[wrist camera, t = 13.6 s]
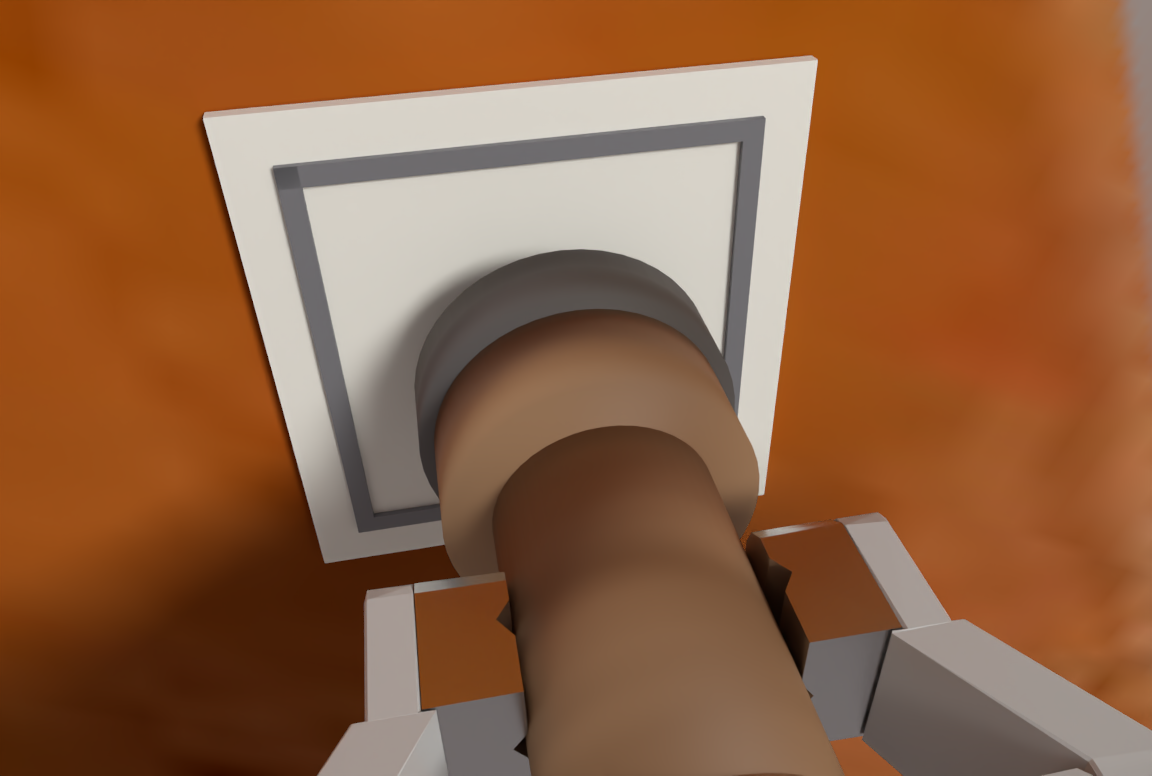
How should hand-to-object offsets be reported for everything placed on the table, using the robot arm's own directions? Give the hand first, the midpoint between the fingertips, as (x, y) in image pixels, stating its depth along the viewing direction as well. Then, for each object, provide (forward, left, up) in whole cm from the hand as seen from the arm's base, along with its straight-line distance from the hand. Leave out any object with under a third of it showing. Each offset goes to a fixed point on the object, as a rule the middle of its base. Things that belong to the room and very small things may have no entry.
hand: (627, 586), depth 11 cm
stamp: (0, 0, -4) cm, 4 cm away
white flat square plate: (0, 0, -5) cm, 5 cm away
